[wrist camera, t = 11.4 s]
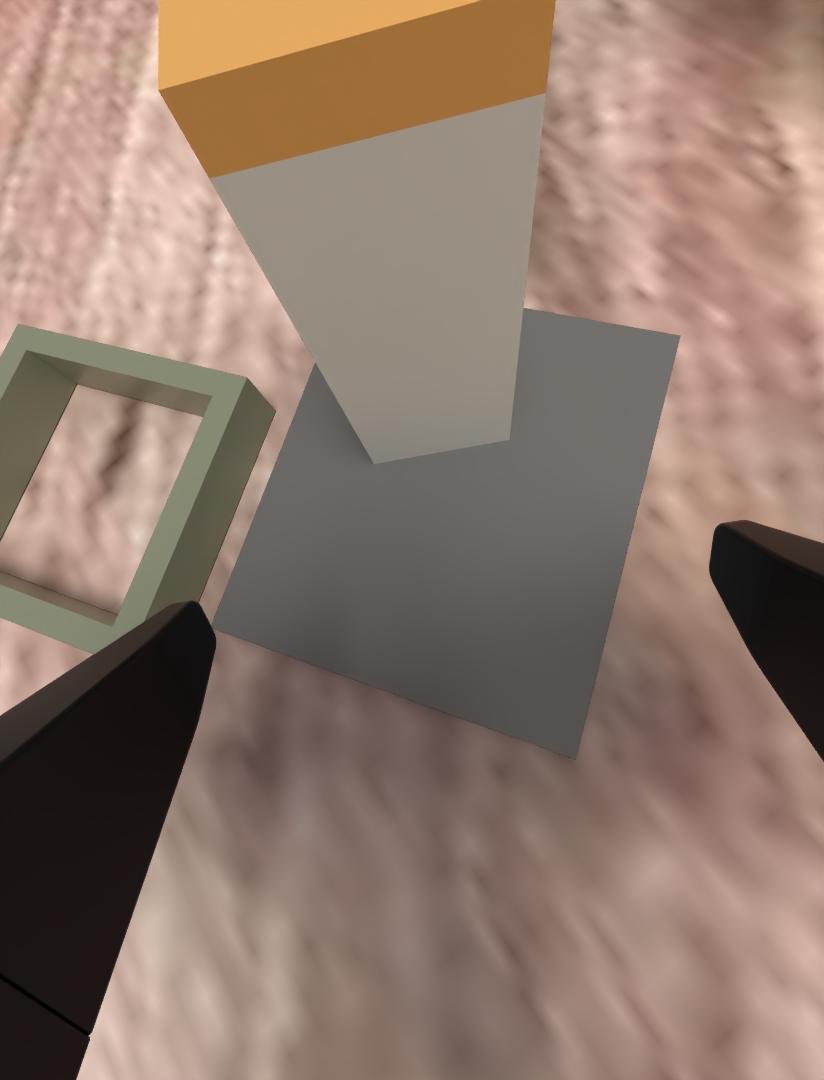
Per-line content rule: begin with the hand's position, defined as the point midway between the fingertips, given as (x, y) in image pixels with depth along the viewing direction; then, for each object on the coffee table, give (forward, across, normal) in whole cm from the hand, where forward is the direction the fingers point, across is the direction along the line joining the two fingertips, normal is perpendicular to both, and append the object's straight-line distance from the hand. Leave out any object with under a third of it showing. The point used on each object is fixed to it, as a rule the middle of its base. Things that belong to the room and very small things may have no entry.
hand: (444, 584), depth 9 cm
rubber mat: (+10, 0, +3) cm, 10 cm away
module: (+12, 0, 0) cm, 12 cm away
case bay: (+11, +14, +1) cm, 17 cm away
